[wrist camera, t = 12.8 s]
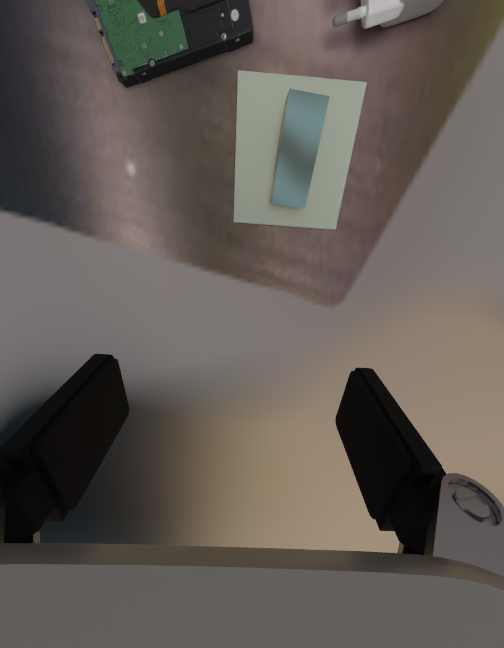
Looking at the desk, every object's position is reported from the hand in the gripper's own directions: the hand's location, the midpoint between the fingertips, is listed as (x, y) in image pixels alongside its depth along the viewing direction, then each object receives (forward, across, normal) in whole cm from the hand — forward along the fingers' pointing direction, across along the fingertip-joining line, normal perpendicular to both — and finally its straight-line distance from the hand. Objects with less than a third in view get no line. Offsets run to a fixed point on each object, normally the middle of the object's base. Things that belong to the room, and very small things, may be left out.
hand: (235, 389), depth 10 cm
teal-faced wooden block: (+28, -5, -12) cm, 30 cm away
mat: (+28, -5, -12) cm, 31 cm away
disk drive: (+29, +9, -24) cm, 39 cm away
